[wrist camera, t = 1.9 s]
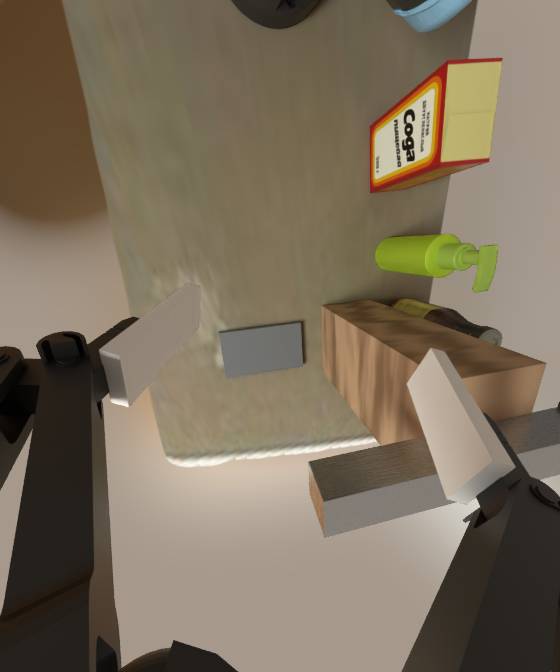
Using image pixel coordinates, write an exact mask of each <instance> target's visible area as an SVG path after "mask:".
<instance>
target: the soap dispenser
mask: <svg viewBox="0 0 560 672" xmlns="http://www.w3.org/2000/svg"><path fill="white" fill-rule="evenodd" d="M497 253H498V245H488V246H480V249H479V250H476V249H475V247H474V245H472V244H470V243H461V242H460V240H459V239H458V238H457V237H456V236H454V235H452V234H436V235H421V236H405V237H390V238H386V239H384V240H383V241H382V242H381V243H380V244H379V245H378V247H377V249H376V252H375V260H376V263H377V265H378V266H379V267H380V268H381V269H383V270H388V271H395V272H402V273H409V274H416V275H423V276H430V277H439V278H441V277H445V276H447V275H449V274H451V273H452V272H453V271H454V270H460V271H462V270H466V269H468V268H470V267H471V266H472V265H478V267H477V274H476V279H475V282H474V286H473V291H474V292H482V291H487V290H488V288H489V286H490V284H491V282H492V279H493V276H494V272H495V267H496V261H497Z"/></svg>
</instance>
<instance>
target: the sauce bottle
mask: <svg viewBox="0 0 560 672" xmlns="http://www.w3.org/2000/svg"><path fill="white" fill-rule="evenodd" d="M390 307H392V308H395V309H397V310H400V311H403V312H406V313H409V314H411V315H414V316H417V317H420V318H422V319H425V320H428V321H431V322H434V323H436V324H439V325H442V326H445V327H447V328H450V329H453V330H456V331H459V332H461V333H464V334H467V335H470V336H472V337H475V338H478V339H481V340H484V341H486V342H489V343H492V344H495V345H497V346H500V345H501V340H502V335H501V333H500V332H499V331H498V330H497V329H494V328H491V327H488V326H479V325H475V324H473V323H471V322H469V321H467V320H466V319H465V318H464V317H463V316H461V315H460V314H459V313H458V312H457V311H455V310H453V309H449V308H445V307H441V306H437V305H433V304H429V303H424V302H421V301H417V300H412V299H400V300H397V301H395V302H394V303H393V304H392V305H391V306H390Z"/></svg>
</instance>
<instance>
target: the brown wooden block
mask: <svg viewBox="0 0 560 672" xmlns="http://www.w3.org/2000/svg"><path fill="white" fill-rule="evenodd" d="M322 346H323V372H324V374H325V375H326V376H327V377H328V379H329V380H330V381H331V383H332V384H333V385H334V386H335V388H336V389H337V390H338V392H339V393H340V394H341V395H342V397H343V398H344V399H345V400H346V402H347V403H348V404H349V406H350V407H351V408H352V409H353V411H354V412H355V413H356V415H357V416H358V417H359V418H360V420H361V421H362V422H363V423H364V425H365V426H366V427H367V429H368V430H369V431H370V432H371V434H372V435H373V436H374V438H375V439H376V440H377V441H378V443H379V444H380V445H381V446H382V445H387V444H391V443H396V442H400V441H405V440H410V439H414V438H419V437H423V436H425V435H424V432H423V429H422V426H421V423H420V420H419V417H418V415H417V412H416V409H415V406H414V403H413V400H412V397H411V394H410V391H409V388H408V386H407V383H408V381H409V380H410V378H411V377H412V375H413V374H414V372H415V371H416V369H417V368H418V366H419V365H420V363H421V362H422V360H423V359H424V357H425V356H426V354H427V353H428V351H429V350H430V348H433V349H437V350H441V351H445V353H446V355H447V356H448V358H449V359H450V361H451V363H452V364H453V366H454V368H455V369H456V371H457V372H458V374H459V376H460V377H461V379H462V381H463V382H464V384H465V385H466V387H467V389H468V390H469V392H470V394H471V395H472V397H473V398H474V400H475V402H476V403H477V405H478V407H479V408H480V410H481V411H482V412H484V413H486V414H487V415H488V416H489V417H490V418H491V419H492V420H493V421H496V420H501V419H506V418H510V417H515V416H519V415H524V414H528V413H532V410H533V406H534V403H535V400H536V397H537V393H538V390H539V386H540V383H541V379H542V376H543V373H544V370H545V366H546V363H545V362H542V361H539V360H536V359H534V358H531V357H528V356H525V355H522V354H520V353H517V352H514V351H511V350H509V349H506V348H503V347H500V346H497V345H495V344H492V343H489V342H486V341H484V340H481V339H478V338H475V337H472V336H470V335H467V334H464V333H461V332H459V331H456V330H453V329H450V328H447V327H445V326H442V325H439V324H436V323H434V322H431V321H428V320H425V319H422V318H420V317H417V316H414V315H411V314H409V313H406V312H403V311H400V310H397V309H395V308H392V307H389V306H386V305H384V304H381V303H378V302H375V301H372V300H364V301H356V302H348V303H340V304H332V305H323V306H322Z"/></svg>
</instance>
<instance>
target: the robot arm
mask: <svg viewBox="0 0 560 672" xmlns="http://www.w3.org/2000/svg"><path fill="white" fill-rule="evenodd" d="M471 1H472V0H387V2H388V3H389V4H390V6H391V8H392V10H393V11H394V12H395V14H397V15H399V16H401V17H402V18H403V19H404V20H405V21H406V22H407V23H408V24H409V25H410V26H411V27H412V28H413V29H414V30H415V31H417V32H419V33H427V32H431V31H433V30H435V29H437V28H439V27H441V26H442V25H444V24H445V23H447V22H448V21H449V20H451V19H452V18H453V17H454V16H455V15H457V14H458V13H459V12H460V11H461V10H462V9H464V8H465V7H466V6H467V5H468V4H469V3H470V2H471ZM232 2H233V3H234V4H235V6H236V7H237V8H238V9H239V10H240V11H241V12H242V13H243V14H244V15H246V16H247V17H248V18H249V19H251V20H252V21H254V22H256V23H258V24H260V25H262V26H265V27H269V28H287V27H290V26H293V25H295V24H297V23H299V22H300V21H302V20H303V19H304V18H305V17H306V16H307V15H308V14H309V13H310V12H311V11H312V10H313V8H314V7H315V5H316V3H317V2H318V0H232ZM200 292H201V286H199V285H195V284H192V283H186V284H185V285H184V286H182V287H181V288H180V289H178V290H177V291H176V292H174V293H173V294H172V295H170V296H169V297H168V298H166V299H165V300H164V301H163V302H161V303H160V304H159V305H157V306H156V307H155V308H153V309H152V310H151V311H149V312H148V313H147V314H145V315H144V316H143V317H141V318H136V317H131V318H128V319H125V320H122V321H121V322H119V323H118V324H117V325H115V326H114V327H113V328H111V329H109V330H108V331H106V333H104V334H102V335H101V336H99V337H98V338H96V339H95V340H94V341H92V342H91V343H89V344H88V345H87V343H86V339H85V337H84V336H83V335H82V334H80V333H77V332H72V331H69V332H67V331H66V332H64V331H63V332H58V333H53V334H51V335H48V336H45V337H44V338H42V339H41V340H39V341H38V343H37V345H36V347H37V349H38V352H39V354H40V357H41V359H24V357H23V355H22V353H21V351H20V350H19V349H17V348H15V347H7V346H4V347H0V490H1V488H2V486H3V484H4V482H5V480H6V478H7V477H8V474H9V473H10V471H11V469H12V467H13V465H14V463H15V461H16V459H17V457H18V455H19V454H20V452H21V450H22V448H23V446H24V444H25V442H26V440H27V438H28V436H29V434H30V432H31V431H32V429H33V431H32V437H31V443H30V449H29V455H28V461H27V467H26V473H25V479H24V485H23V491H22V497H21V503H20V509H19V515H18V521H17V527H16V533H15V539H14V545H13V551H12V557H11V563H10V569H9V576H8V581H7V587H6V593H5V599H4V605H3V609H2V613H1V615H0V672H238V671H236V670H235V669H234V668H233V667H232V666H230V665H229V664H228V663H227V662H226V661H225V660H223V659H222V658H221V657H220V656H219V655H217V654H215V653H212V652H209V651H206V650H202V649H200V648H197V647H193V646H190V645H187V644H184V643H181V642H178V641H175V640H174V641H173V643H172V646H171V648H165V649H159V650H156V651H153V652H150V653H147V654H145V655H143V656H141V657H139V658H137V659H135V660H133V661H132V662H130V663H129V664H127V665H126V666H124V667H123V668H121V655H120V654H121V653H120V638H119V627H118V619H117V613H116V608H115V601H114V586H113V570H112V554H111V553H112V552H111V536H110V518H109V500H108V484H107V466H106V449H105V432H104V414H103V403H102V399H103V398H104V397H105V396H106V395H107V394H108V393H109V395H110V399H111V402H112V403H115V404H119V405H122V406H126V407H130V406H131V405H132V403H133V402H134V401H135V400H136V399H137V397H138V396H139V395H140V394H141V393H142V392H143V391H144V390H145V388H146V387H147V386H148V385H149V384H150V383H151V382H152V380H153V379H154V378H155V377H156V376H157V375H158V374H159V372H160V371H161V370H162V369H163V368H164V367H165V365H166V364H167V363H168V362H169V361H170V360H171V359H172V357H173V356H174V355H175V354H176V353H177V352H178V351H179V349H180V348H181V347H182V346H183V345H184V344H185V342H186V341H187V340H188V339H189V338H190V337H191V336H192V334H193V333H194V332H195V331H196V330H197V329H198V328H199V321H200ZM407 386H408V388H409V391H410V394H411V397H412V400H413V403H414V406H415V409H416V412H417V415H418V417H419V420H420V423H421V426H422V429H423V432H424V435H425V438H426V441H427V444H428V446H429V449H430V452H431V455H432V458H433V461H434V464H435V467H436V470H437V472H438V475H439V478H440V481H441V484H442V487H443V490H444V493H445V496H446V499H448V500H452V501H455V502H459V503H462V504H467V503H469V502H470V501H472V500H473V499H474V498H477V500H478V502H479V505H480V508H478V509H477V510H475V511H474V512H473V513H471V514H470V515H468V516H467V517H466V518H465V519H463V521H464V522H465V523H466V522H468V521H470V523H469V525H468V528H467V529H466V532H465V534H464V536H463V538H462V540H461V543H460V545H459V547H458V549H457V551H456V554H455V556H454V558H453V560H452V562H451V565H450V567H449V569H448V571H447V573H446V576H445V578H444V580H443V582H442V584H441V586H440V589H439V591H438V593H437V595H436V597H435V600H434V602H433V604H432V606H431V608H430V611H429V613H428V615H427V617H426V619H425V622H424V624H423V626H422V628H421V630H420V633H419V635H418V637H417V639H416V642H415V643H414V646H413V648H412V650H411V652H410V655H409V657H408V659H407V661H406V663H405V665H404V668H403V670H402V672H560V497H559V496H558V494H557V493H556V492H555V491H554V490H552V489H551V488H550V487H549V486H548V485H546V484H545V483H543V482H541V481H540V480H538V479H536V478H533V477H531V476H530V475H529V474H528V472H527V470H526V469H525V467H524V466H523V464H522V463H521V461H520V460H519V458H518V457H517V455H516V453H515V452H514V450H513V449H512V447H511V446H510V445H508V441H507V440H506V438H505V436H503V433H502V432H501V430H500V429H499V427H498V426H497V424H496V423H495V422H494V421H493V420H492V419H491V418H490V417H489V416H488V415H487V414H486V413H484V412H482V411H481V410H480V408H479V407H478V405H477V403H476V402H475V400H474V398H473V397H472V395H471V394H470V392H469V390H468V389H467V387H466V385H465V384H464V382H463V381H462V379H461V377H460V376H459V374H458V372H457V371H456V369H455V368H454V366H453V364H452V363H451V361H450V359H449V358H448V356H447V355H446V353H445V351H441V350H437V349H433V348H430V350H429V351H428V353H427V354H426V356H425V357H424V359H423V360H422V362H421V363H420V365H419V366H418V368H417V369H416V371H415V372H414V374H413V375H412V377H411V378H410V380H409V381H408V383H407Z"/></svg>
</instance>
